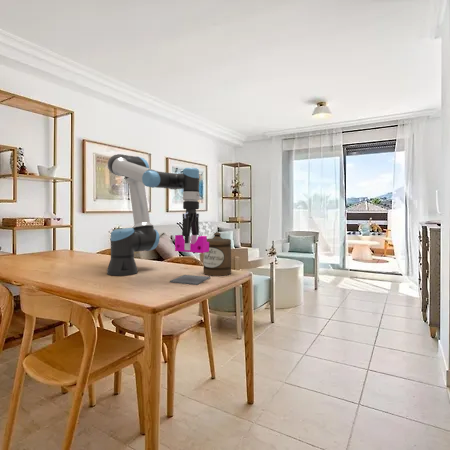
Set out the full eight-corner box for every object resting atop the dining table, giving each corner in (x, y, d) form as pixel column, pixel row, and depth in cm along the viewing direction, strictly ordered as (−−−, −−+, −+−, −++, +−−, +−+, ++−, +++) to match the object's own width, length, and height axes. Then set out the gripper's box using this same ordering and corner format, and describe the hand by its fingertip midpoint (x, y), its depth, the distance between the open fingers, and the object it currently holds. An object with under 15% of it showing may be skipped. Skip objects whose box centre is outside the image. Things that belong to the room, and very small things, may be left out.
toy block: (209, 251, 155) (209, 235, 155) (202, 253, 149) (203, 236, 149) (182, 249, 161) (182, 234, 161) (175, 251, 156) (175, 235, 155)
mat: (169, 282, 151) (169, 281, 151) (184, 275, 166) (184, 274, 166) (197, 284, 146) (197, 283, 146) (210, 278, 162) (210, 276, 162)
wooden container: (197, 273, 172) (198, 232, 171) (214, 269, 185) (214, 230, 184) (220, 277, 164) (221, 233, 163) (236, 272, 176) (237, 232, 175)
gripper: (189, 200, 144) (189, 252, 145) (206, 201, 163) (205, 247, 164) (174, 200, 146) (174, 251, 148) (192, 201, 165) (192, 246, 166)
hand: (190, 249), depth 156 cm, fingers closed on toy block, 7 cm apart
